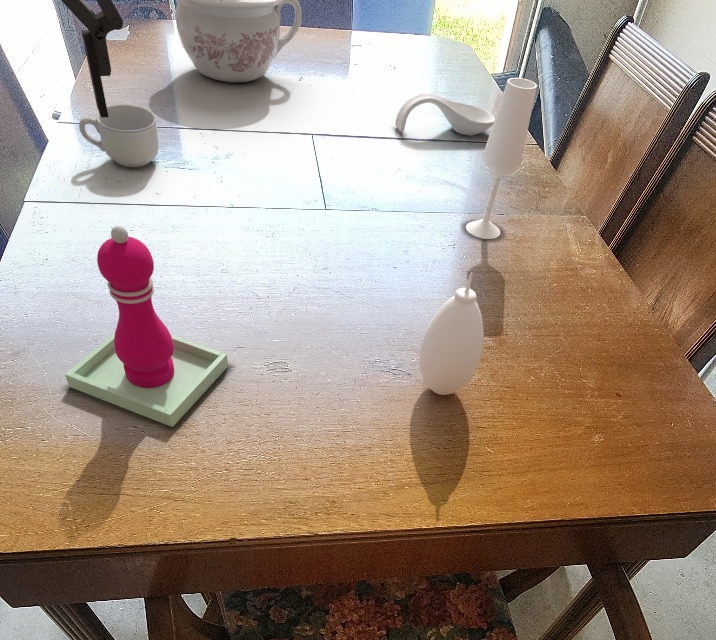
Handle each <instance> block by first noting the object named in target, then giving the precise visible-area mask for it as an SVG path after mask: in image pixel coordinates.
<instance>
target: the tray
mask: <svg viewBox="0 0 716 640" xmlns="http://www.w3.org/2000/svg"><path fill="white" fill-rule="evenodd" d="M170 334H171V333H170ZM114 337H115V331H114V332H113V333H112V334H110V336H109V337H107V338H106V339H105V340H103V342H101V343H100V344H99V345H97V346H96V347H95V348H94V349H93V350H92V351H91V352H89V353H88V354H87V355H86V356H85V357H84V358H82V359H81V360H80V361H79V362H77V363H76V364H75V365H74V366H73V367H72V368H70V369H69V370H67V372H66V373H64V377H65V380H66V382H67V384H68V387H69V388H71V389H73V390H76V391H80V392H82V393H84V394H86V395H89V396H91V397H94V398H97V399H99V400H102V401H104V402H107V403H110V404H111V405H115V406H117V407H120V408H122V409H125V410H127V411H131V412H132V413H135V414H138V415H141V416H142V417H146V418H148V419H150V420H153V421H155V422H158V423H161V424H163V425H166V426H169V427H172V428H173V427H174V426H175V425H176V424H177V423H179V421H180V420H181V419H182V417H183V416H185V415H186V413H187V412H188V411H189V410H190V409H191V408H192V407H193V406H194V404H195V403H196V402H197V401H199V399H200V398H201V397H202V396H203V395H204V393H205V392H206V391H207V390H208V389H210V387H211V386H212V385H213V384H214V383H215V381H216V380H217V379H219V377H220V376H221V375H222V374H223V373H224V372H225V371H226V369H227V368H228V367H229V362H228V354H227V353H224V352H222V351H218V350H216V349H214V348H210V347H208V346H206V345H203V344H199V343H196V342H194V341H191V340H188V339H186V338H182V337H180V336H177V335H175V334H171V337H172V340H173V344H174V351H173V354H172V356H171V358H172V360H173V365H174V375H173V377H172V379H171V380H170V381H168V382H167V383H165V384H164V385H161V386H158V387H153V388H143V387H138V386H136V385H134V384H132V383H131V382H129V380H128V379H127V377H126V374H125V370H124V366H123V365H124V363H123V362H121V361H120V359H119V358H118V357H117V355H116V352H115V346H114Z"/></svg>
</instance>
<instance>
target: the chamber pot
mask: <svg viewBox="0 0 716 640" xmlns="http://www.w3.org/2000/svg"><path fill="white" fill-rule="evenodd" d="M287 4H288V5H292V6H293V11H294V19H293V24H292V25H291V27H290V29H288V31H287V33H286V34H285V35H283V36H282V37H280V36H281V19H282V11H281V10H282V7H283V6H284V5H287ZM301 7H302V6H301V5H300V2H299V0H178V2H177V6H176V9H175V23H176V29H177V33H178V36H179V40H180V44H181V47H182V48H183V50H184V52H185V53H186V55H187V57H188V58H189V60H190V62H191V64H192V65H193V66H194V67H195V69H196V70H197V71H198V72H199V73H200V74H202V75H203V76H206V77H207V78H210V79H211V80H215V81H218V82H221V83H231V84H243V83H249V82H252V81H255V80H258V79H260V78H262V77H263V76H264V75H266V73H267V72H268V71H269V70H270V67H271V66H272V64H273V62H274V60H275V59H276V57H277V55H278V54H279V52H280V51H281V50H282V49H283V48H284V46H286V45H287V44H288V43H289V42H290V41H291V40H293V39H294V37H295V36H296V34H297V32H298V31H299V29H300V28H301V25H302V17H303V16H302V8H301Z"/></svg>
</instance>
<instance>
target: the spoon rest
mask: <svg viewBox="0 0 716 640" xmlns="http://www.w3.org/2000/svg"><path fill="white" fill-rule="evenodd" d="M423 104H433V105H435V106H436V107H437V108H439V110H440V111H441V113H442V114H443V116H444V117H445V119H446V120H447V122H448V123H449V125H450V126H451V128H452V129H453V131H455V133H458V134H460V135H464V136H476V135H478V134H482V133H484V132H487V130H489V129H490V128H492V126H493V123H494V120H495V117H496V116H494V115H493V114H492V112H490V111H488V110H485V109H483V108H482V107H479V106H476V105H472V104H468V103H465V102H464V103H463V102H459V101H454V100H450V99H449V98H445V97H443V96H440V95H438V94H435V93H431V92H430V93H429V92H424V93H419V94H416V95H413V96H412V97H410V98H408V100H406V101H405V103H404V104H402V106H401V107H400V109H399V111H398V113H397V115H396V118H395V122H394V125H395V127H396V128H397V130H398V131H399V132H400V133H404V131H405V128H406V123H407V120H408V117H409V115H410V114H411V113H412V111H413V110H414V109H415V108H417V107H419V106H421V105H423Z"/></svg>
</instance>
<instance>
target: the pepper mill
mask: <svg viewBox="0 0 716 640" xmlns="http://www.w3.org/2000/svg"><path fill="white" fill-rule="evenodd" d="M110 236H111V238H108V239H106V240H105V241H103V243H102V244H101V245H100V247H99V248H98V250H97V255H96V261H97V268H98V270H99V273H100V275H101V276H102V277H103V278H104V279H105V280H106V281H107V288H108V289H109V290H108V291H109V295H110V297H111V298H112V299H113V300H114V301H116V304H117V308H118V320H117V324H116V327H115V328H116V329H115V331H114V332H115V337H114V346H115V352H116V355H117V357H118V358H119V359H120V361H121V362H123V363H124V365H123V366H124V370H125V374H126V377H127V379H128V380H129V382H131V383H132V384H134V385H136V386H138V387H143V388H153V387H158V386H161V385H164V384H165V383H167V382H168V381H170V380H171V379H172V377H173V375H174V365H173V360H172V358H171V356H172V354H173V351H174V344H173V340H172V337H171V333H170V331H169V329H168V327H167V326H166V324H164V322H163V321H162V319H161V317H159V316H158V314H157V312H156V311H155V309H154V305H153V300H152V297H153V295H154V293H155V287H154V281H153V278H152V276H153V273H154V269H155V263H154V262H155V261H154V258H153V255H152V252H151V251H150V249H149V248H148V246H147V245H146V244H145V243H144V242H143V241H141V240H139V239H138V238H136V237H133V236H129V233H128V230H127V229H126V228H125V227H124V226H121V225H115V226H114V227H112V229H111V230H110Z"/></svg>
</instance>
